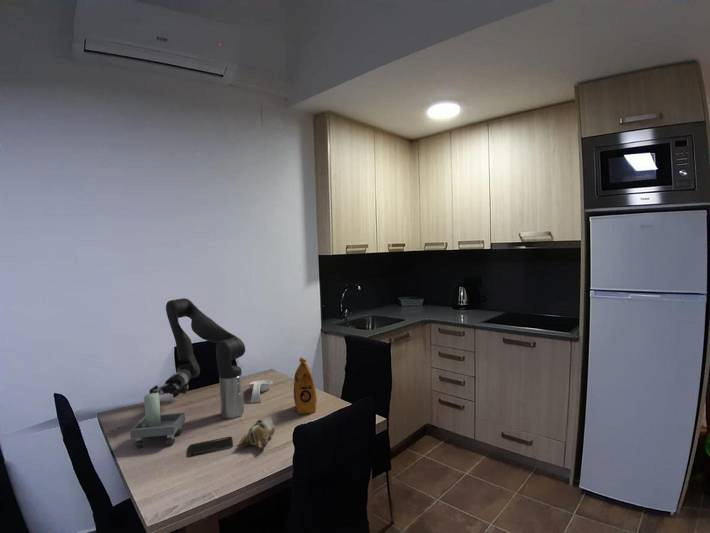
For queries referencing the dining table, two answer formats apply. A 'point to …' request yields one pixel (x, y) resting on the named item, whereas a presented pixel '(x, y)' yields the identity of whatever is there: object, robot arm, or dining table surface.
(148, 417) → the pale green cylinder
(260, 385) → the white t-shaped piece
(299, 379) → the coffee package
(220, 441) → the phone
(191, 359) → the robot arm
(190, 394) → the dining table surface
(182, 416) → the tray
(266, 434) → the ceramic sculpture
